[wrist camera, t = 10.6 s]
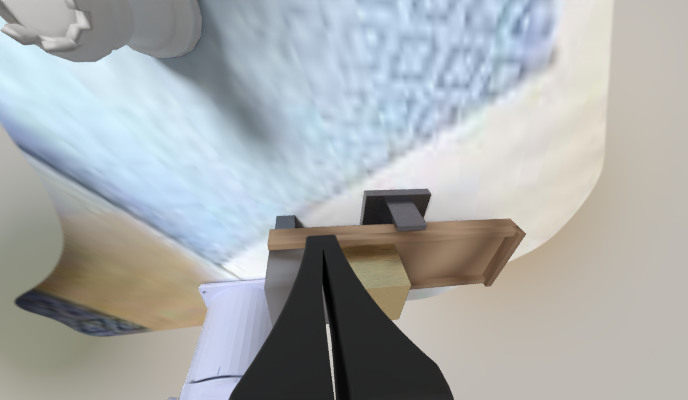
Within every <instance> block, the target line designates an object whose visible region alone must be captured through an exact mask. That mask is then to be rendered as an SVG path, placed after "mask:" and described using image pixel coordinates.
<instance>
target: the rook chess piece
mask: <svg viewBox="0 0 688 400" xmlns="http://www.w3.org/2000/svg"><path fill="white" fill-rule="evenodd" d="M0 16H1V17H2V18H3V19H4V20H5V21H6V22H7V23H8V24H5V25H4V27H3V28H2V29H1V32H3V33H5V34H6V35H8V36H10V37H11V38H13V39H15V40H16V41H18V42H19V43H21V44H23V45H31V44H35V45H37V46H38V47H40V48H41V49H43V50H45V51H46V52H48V53H49V54H52V55H55V56H58V57H61V58H64V59H67V60H70V61H73V62H96V61H98V60H100V59H102V58H103V57H105V56H107V55H109V54H110V53H111V52H112V50H117V49H119V48H121V47H122V46H124V45H128V46H129V47H130V48H132V49H133V50H136V51H138V52H141V53H144V54H147V55H149V56H152V57H155V58H173V57H181V56H183V55H185V54H186V53H188V52H190V51H192V50H193V49H194V47H195V46H196V44H197V42H198V41H199V39H200V37H201V28H202V16H201V12H200V9H199V5H198V1H197V0H0Z"/></svg>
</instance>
